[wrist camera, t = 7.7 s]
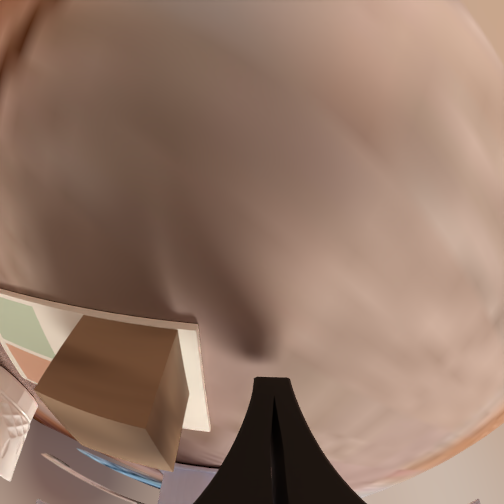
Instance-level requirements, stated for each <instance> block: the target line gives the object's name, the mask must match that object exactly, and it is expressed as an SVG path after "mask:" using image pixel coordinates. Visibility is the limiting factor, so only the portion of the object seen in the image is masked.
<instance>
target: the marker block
mask: <svg viewBox="0 0 504 504" xmlns="http://www.w3.org/2000/svg"><path fill="white" fill-rule="evenodd" d="M34 391H35V392H36V393H37V395H38V396H39V397H40V399H41V400H42V401H43V403H44V404H45V405H46V406H47V407H48V409H49V410H50V411H51V412H52V414H53V415H54V416H55V417H56V418H57V419H58V420H59V422H60V423H61V424H62V425H63V426H64V427H65V428H66V429H67V430H68V431H69V433H70V434H71V435H72V436H73V437H74V438H75V439H76V440H77V441H78V442H79V443H80V444H81V445H83V446H85V447H88V448H90V449H93V450H96V451H98V452H101V453H104V454H107V455H110V456H113V457H116V458H119V459H122V460H125V461H129V462H132V463H136V464H140V465H143V466H147V467H151V468H156V469H160V470H165V471H170V472H173V471H174V466H175V461H176V456H177V451H178V446H179V441H180V436H181V431H182V426H183V422H184V417H185V412H186V408H187V403H188V398H189V389H188V384H187V379H186V374H185V369H184V364H183V358H182V352H181V347H180V341H179V335H178V330H176V329H168V328H160V327H152V326H145V325H138V324H132V323H126V322H120V321H114V320H108V319H102V318H97V317H92V316H87V315H83V316H82V318H81V319H80V320H79V322H78V323H77V325H76V326H75V327H74V329H73V330H72V332H71V333H70V335H69V336H68V337H67V339H66V340H65V342H64V343H63V345H62V346H61V348H60V349H59V351H58V352H57V354H56V355H55V357H54V358H53V360H52V361H51V363H50V364H49V366H48V367H47V369H46V371H45V372H44V374H43V375H42V377H41V379H40V380H39V382H38V384H37V385H36V387H35V389H34Z"/></svg>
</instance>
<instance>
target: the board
mask: <svg viewBox="0 0 504 504" xmlns="http://www.w3.org/2000/svg"><path fill="white" fill-rule="evenodd" d="M83 315H87V316H92V317H97V318H102V319H108V320H114V321H120V322H126V323H132V324H138V325H145V326H152V327H160V328H168V329H176V330H178V335H179V341H180V347H181V352H182V358H183V364H184V369H185V374H186V379H187V384H188V389H189V398H188V403H187V408H186V412H185V417H184V422H183V426H182V428H184V429H191V430H198V431H206V432H210V429H211V425H210V419H209V412H208V405H207V398H206V390H205V383H204V375H203V366H202V357H201V348H200V338H199V328H198V324H192V323H183V322H174V321H165V320H157V319H149V318H142V317H135V316H128V315H121V314H115V313H109V312H103V311H97V310H92V309H86V308H81V307H76V306H71V305H66V304H61V303H57V302H52V301H48V300H43V299H39V298H35V297H31V296H27V295H23V294H19V293H15V292H11V291H8V290H4V289H0V343H1V344H2V346H3V348H4V350H5V351H6V353H7V355H8V356H9V358H10V359H11V361H12V363H13V364H14V366H15V367H16V369H17V370H18V372H19V373H20V375H21V376H22V378H24V379H26V380H28V381H30V382H33V383H35V384H38V382H39V380H40V379H41V377H42V375H43V374H44V372H45V371H46V369H47V367H48V366H49V364H50V363H51V361H52V360H53V358H54V357H55V355H56V354H57V352H58V351H59V349H60V348H61V346H62V345H63V343H64V342H65V340H66V339H67V337H68V336H69V335H70V333H71V332H72V330H73V329H74V327H75V326H76V325H77V323H78V322H79V320H80V319H81V318H82V316H83Z"/></svg>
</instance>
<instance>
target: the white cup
mask: <svg viewBox="0 0 504 504" xmlns="http://www.w3.org/2000/svg"><path fill="white" fill-rule="evenodd" d="M37 407H38V404H37V403H36V401H35V399H34V397H33V396H32V395H31V394H30V393H29V392H28V390H27V389H26V388H25V387H24V386H23V385H22V384H21V383H20V382H19V381H18V380H17V379H16V378H15V377H14V376H12V375H11V374H10V373H9V372H8V371H7V370H5V369H4V368H3V367H1V366H0V476H1V477H3V478H5V479H6V480H8V481H11V479H12V475H13V472H14V469H15V466H16V463H17V461H18V458H19V455H20V452H21V450H22V446H23V443H24V441H25V439H26V436H27V432H28V430H29V428H30V424H29V423H31V420H32V418H33V416H34V413H35V411H36V409H37Z"/></svg>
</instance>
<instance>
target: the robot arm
mask: <svg viewBox="0 0 504 504" xmlns="http://www.w3.org/2000/svg"><path fill="white" fill-rule="evenodd" d="M159 470H160V469H159ZM160 472H161V473H162V474H163V480H162V485H161V490H160V495H159V500H158V504H367V503H365V502H364V501H363V500H362V499H361V498H360V497H359V496H358V495H357V494H356V493H355V492H354V491H353V490H352V489H351V488H350V487H349V485H348V484H347V483H346V482H345V481H344V480H343V478H342V477H341V476H340V475H339V474H338V473H337V471H336V470H335V469H334V467H333V466H332V465H331V463H330V462H329V460H328V459H327V457H326V456H325V455H324V453H323V451H322V450H321V448H320V447H319V445H318V443H317V442H316V440H315V438H314V436H313V434H312V433H311V431H310V429H309V427H308V425H307V423H306V421H305V418H304V416H303V414H302V412H301V410H300V407H299V405H298V402H297V400H296V397H295V394H294V391H293V388H292V385H291V381H290V379H289V378H278V377H256V378H254V384H253V392H252V396H251V400H250V404H249V407H248V410H247V413H246V416H245V418H244V421H243V424H242V426H241V428H240V431H239V433H238V435H237V437H236V439H235V441H234V443H233V445H232V447H231V449H230V451H229V453H228V455H227V457H226V458H225V460H224V462H223V463H222V465H221V467H220V468H219V469H214V468H206V467H198V466H191V465H185V464H179V463H175V466H174V471H173V472H170V471H165V470H160ZM36 504H47V503H46V502H44V501H42V500H40V499H37V502H36ZM469 504H480V501H479V499H477V500H475V501H473V502H471V503H469Z"/></svg>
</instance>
